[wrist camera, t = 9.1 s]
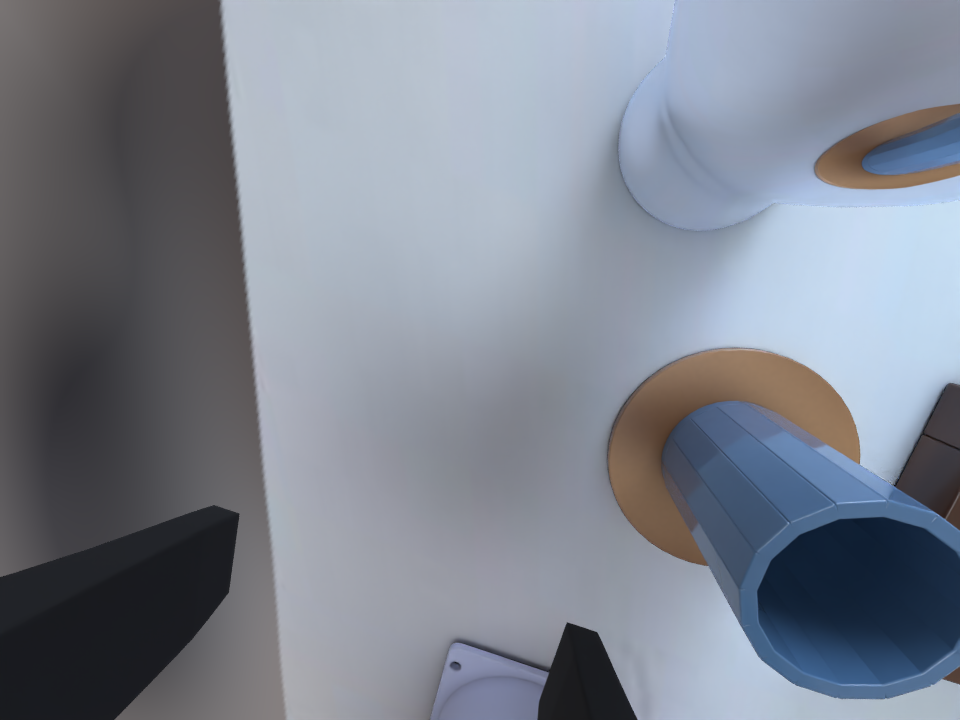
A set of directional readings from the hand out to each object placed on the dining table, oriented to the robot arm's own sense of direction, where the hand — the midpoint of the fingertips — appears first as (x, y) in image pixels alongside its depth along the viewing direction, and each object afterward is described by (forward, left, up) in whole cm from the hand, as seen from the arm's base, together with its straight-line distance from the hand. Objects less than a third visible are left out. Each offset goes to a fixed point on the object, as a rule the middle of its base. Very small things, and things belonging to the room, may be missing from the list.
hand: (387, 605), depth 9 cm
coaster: (+2, -10, -10) cm, 14 cm away
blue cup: (+2, -10, -10) cm, 14 cm away
